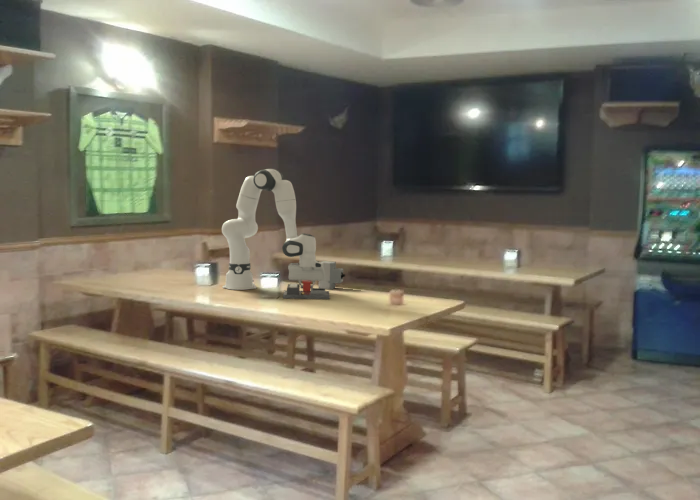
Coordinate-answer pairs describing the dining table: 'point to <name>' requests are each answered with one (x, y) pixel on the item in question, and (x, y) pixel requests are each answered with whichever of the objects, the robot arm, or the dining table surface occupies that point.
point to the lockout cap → (306, 285)
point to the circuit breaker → (331, 275)
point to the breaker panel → (305, 293)
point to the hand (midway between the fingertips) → (306, 288)
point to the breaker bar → (293, 286)
